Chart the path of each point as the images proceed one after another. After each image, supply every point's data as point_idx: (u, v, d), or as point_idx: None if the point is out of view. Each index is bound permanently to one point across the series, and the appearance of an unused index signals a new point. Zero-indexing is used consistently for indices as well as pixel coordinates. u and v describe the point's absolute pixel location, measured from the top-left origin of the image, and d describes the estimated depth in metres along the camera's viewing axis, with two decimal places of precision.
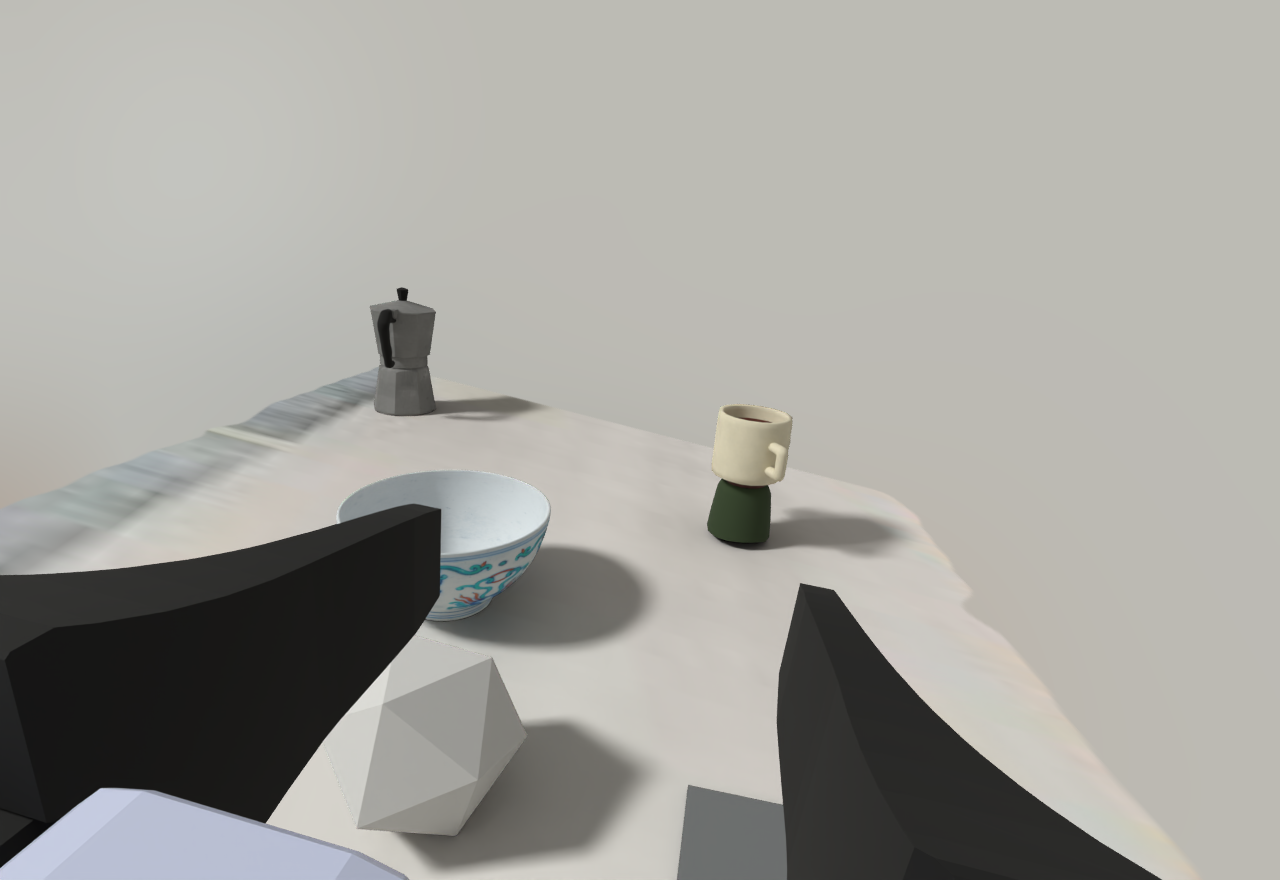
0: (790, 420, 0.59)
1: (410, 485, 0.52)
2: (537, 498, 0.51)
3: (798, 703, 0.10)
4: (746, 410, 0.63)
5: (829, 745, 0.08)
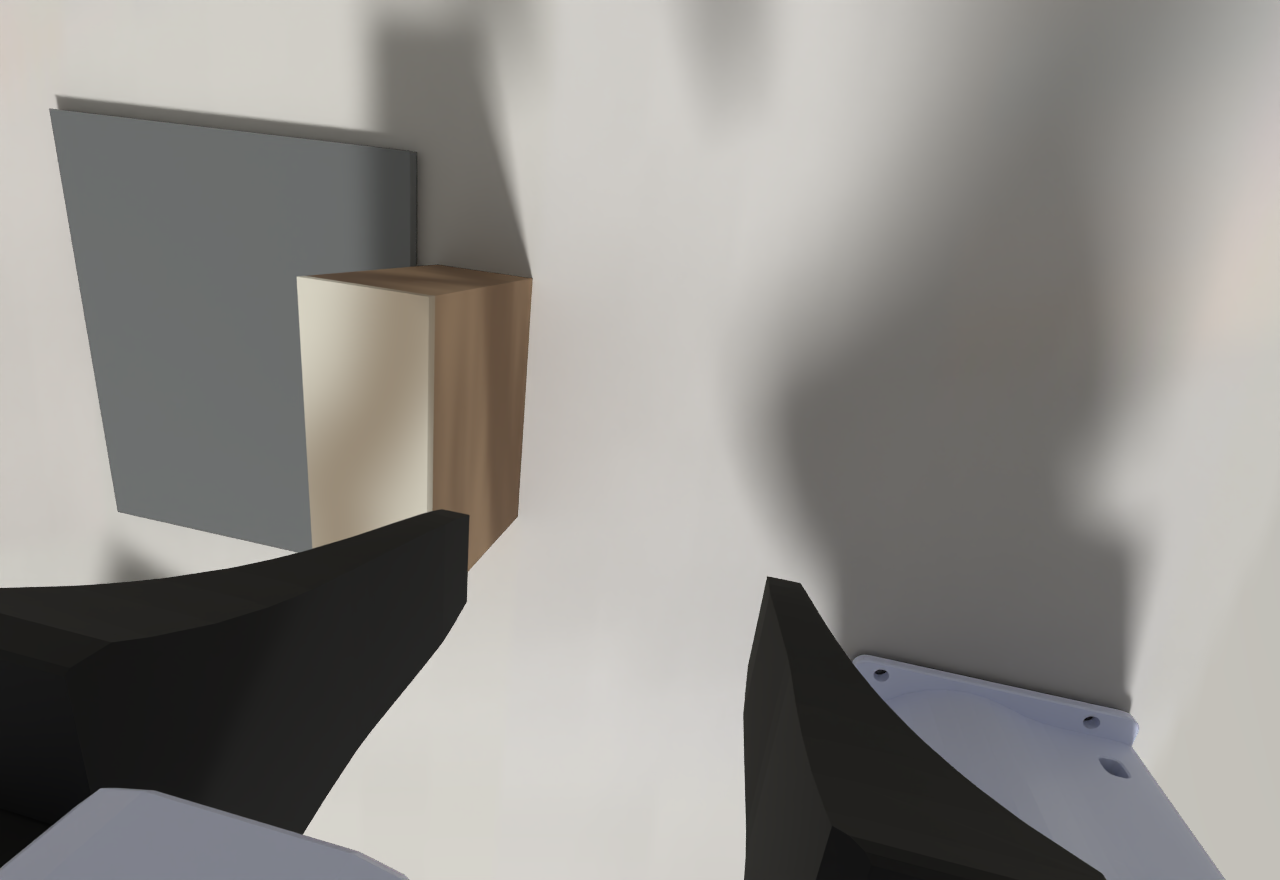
0: None
1: None
2: None
3: (760, 694, 0.10)
4: None
5: (781, 733, 0.08)
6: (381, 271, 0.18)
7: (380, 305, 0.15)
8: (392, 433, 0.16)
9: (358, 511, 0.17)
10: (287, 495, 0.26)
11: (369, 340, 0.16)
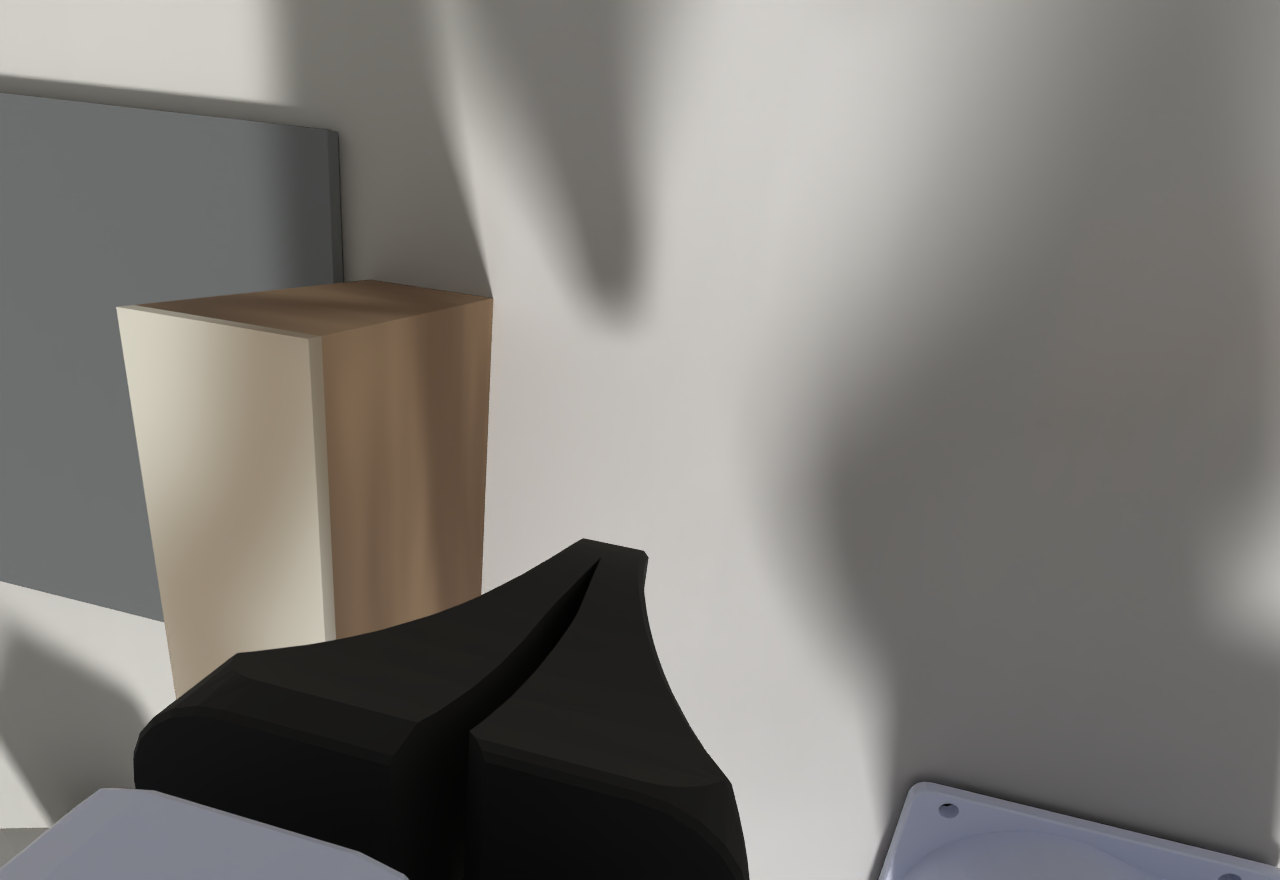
0: None
1: None
2: None
3: None
4: None
5: None
6: (274, 293, 0.13)
7: (239, 350, 0.10)
8: (269, 534, 0.11)
9: (231, 638, 0.12)
10: None
11: (227, 401, 0.10)
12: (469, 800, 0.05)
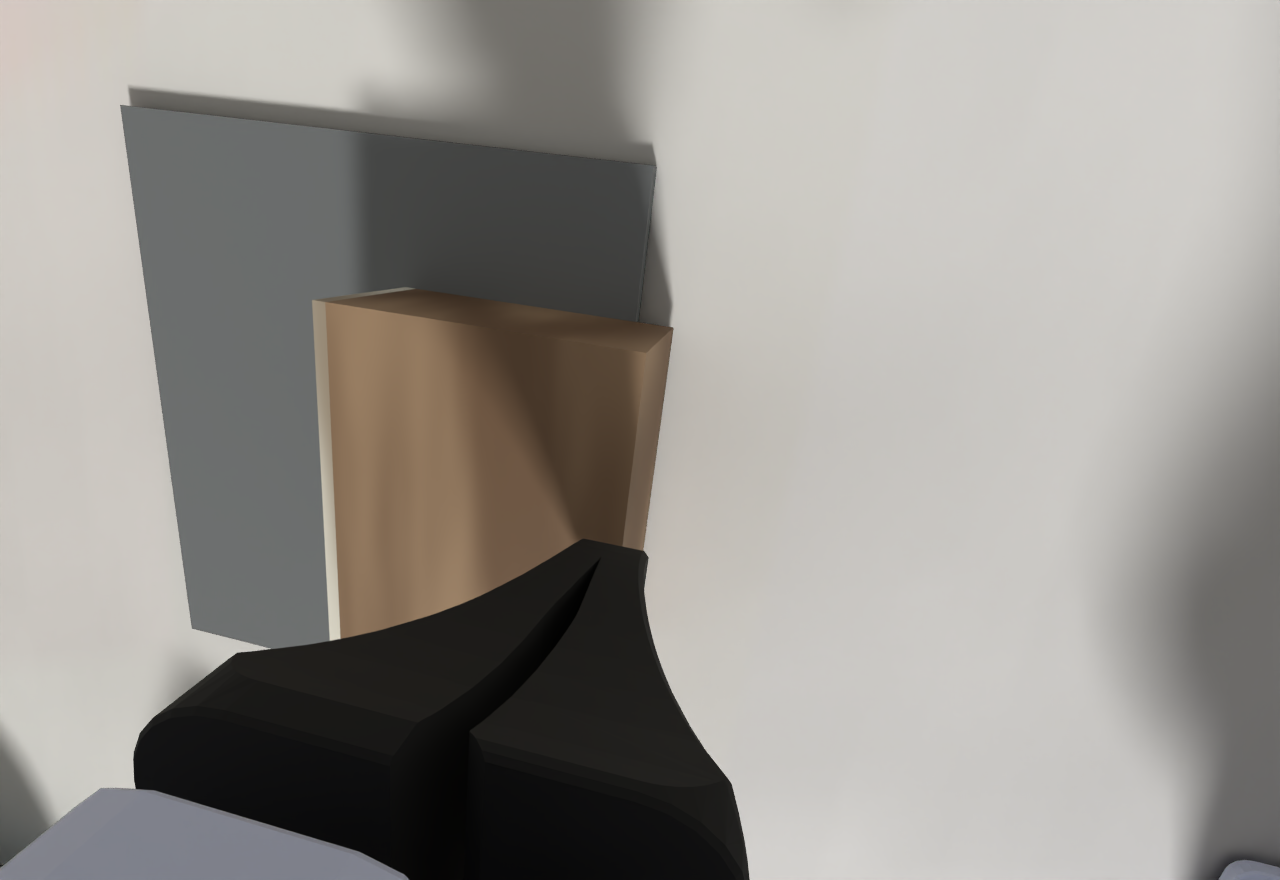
0: None
1: None
2: None
3: None
4: None
5: None
6: (517, 306, 0.15)
7: None
8: None
9: None
10: None
11: None
12: (470, 802, 0.05)
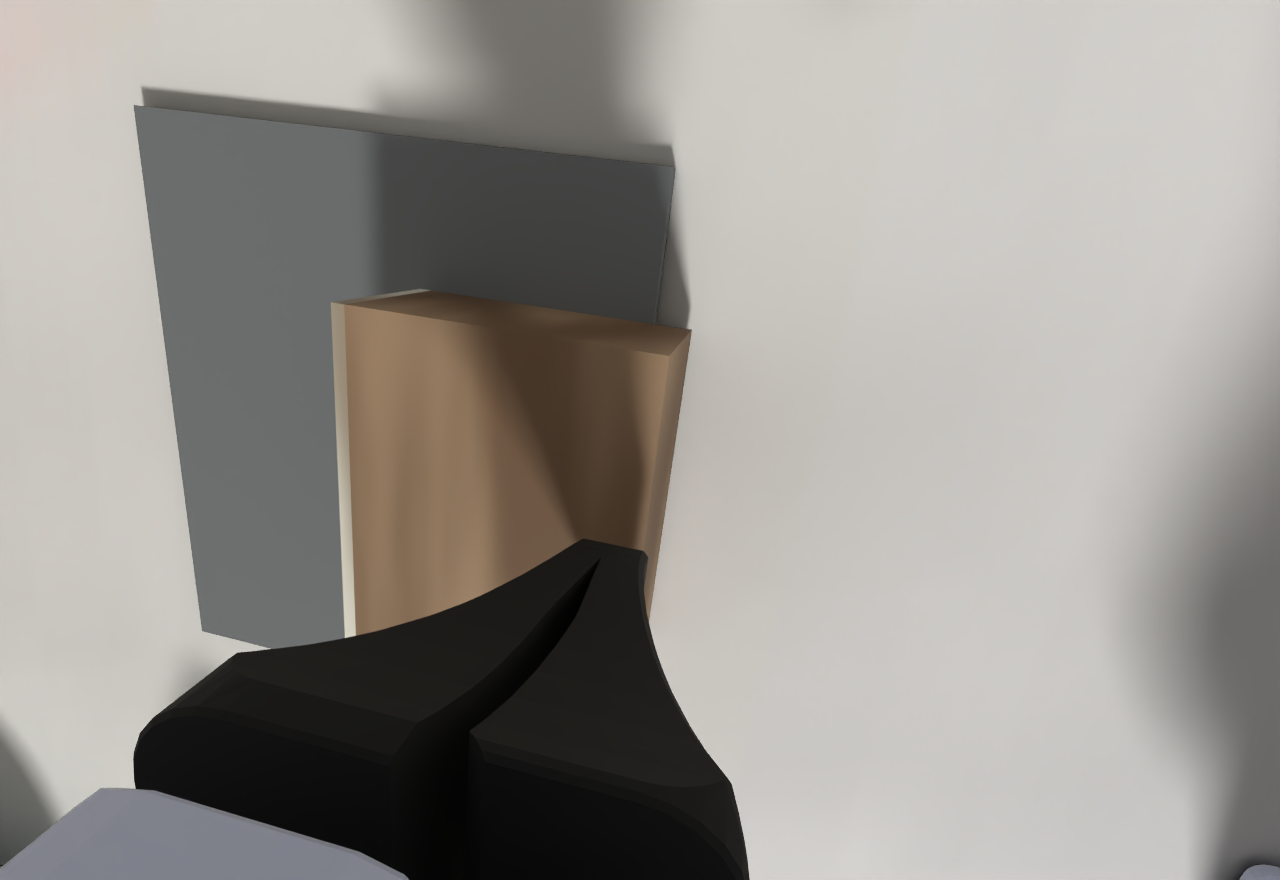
0: None
1: None
2: None
3: None
4: None
5: None
6: (534, 307, 0.15)
7: None
8: None
9: None
10: None
11: None
12: (470, 800, 0.05)
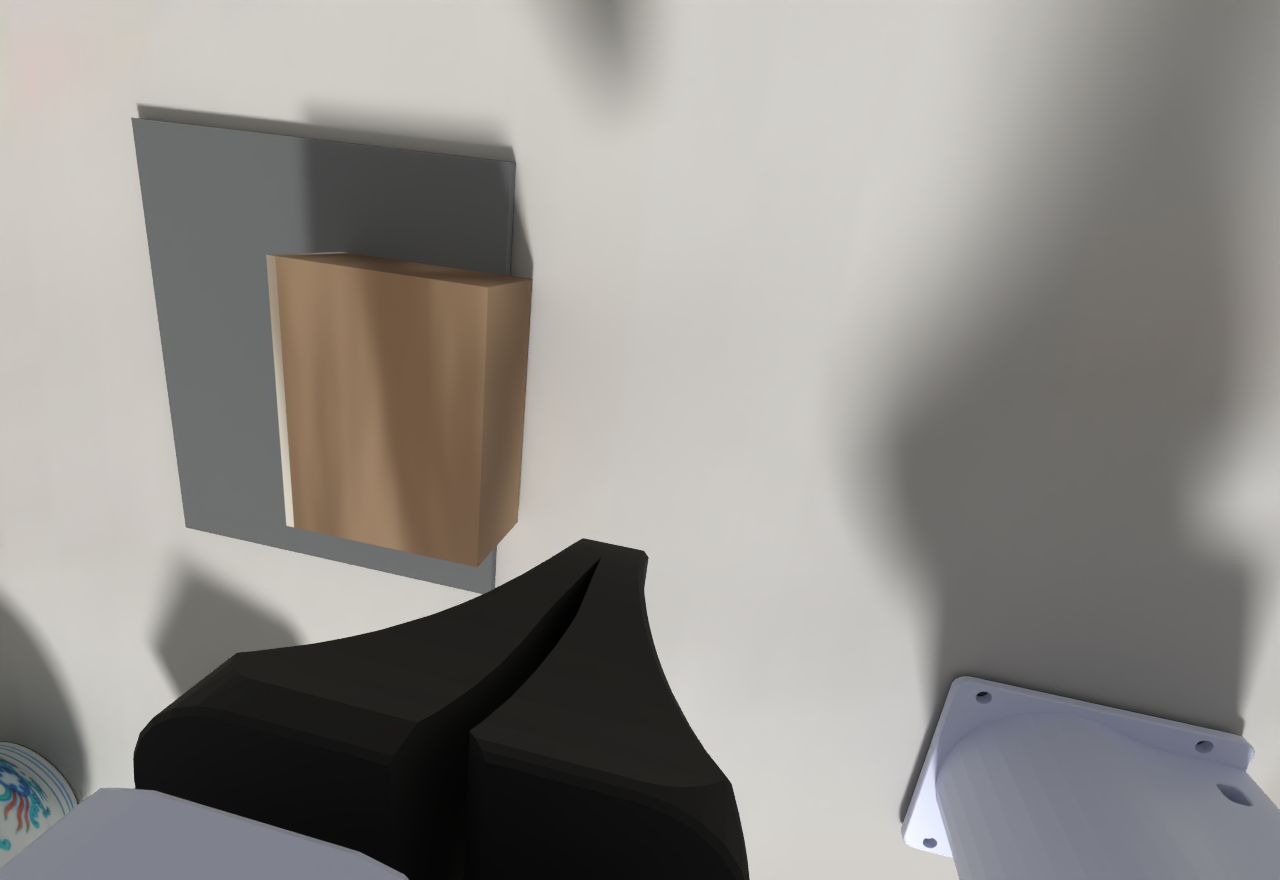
0: None
1: None
2: None
3: None
4: None
5: None
6: (420, 264, 0.21)
7: None
8: None
9: None
10: None
11: None
12: (470, 800, 0.05)
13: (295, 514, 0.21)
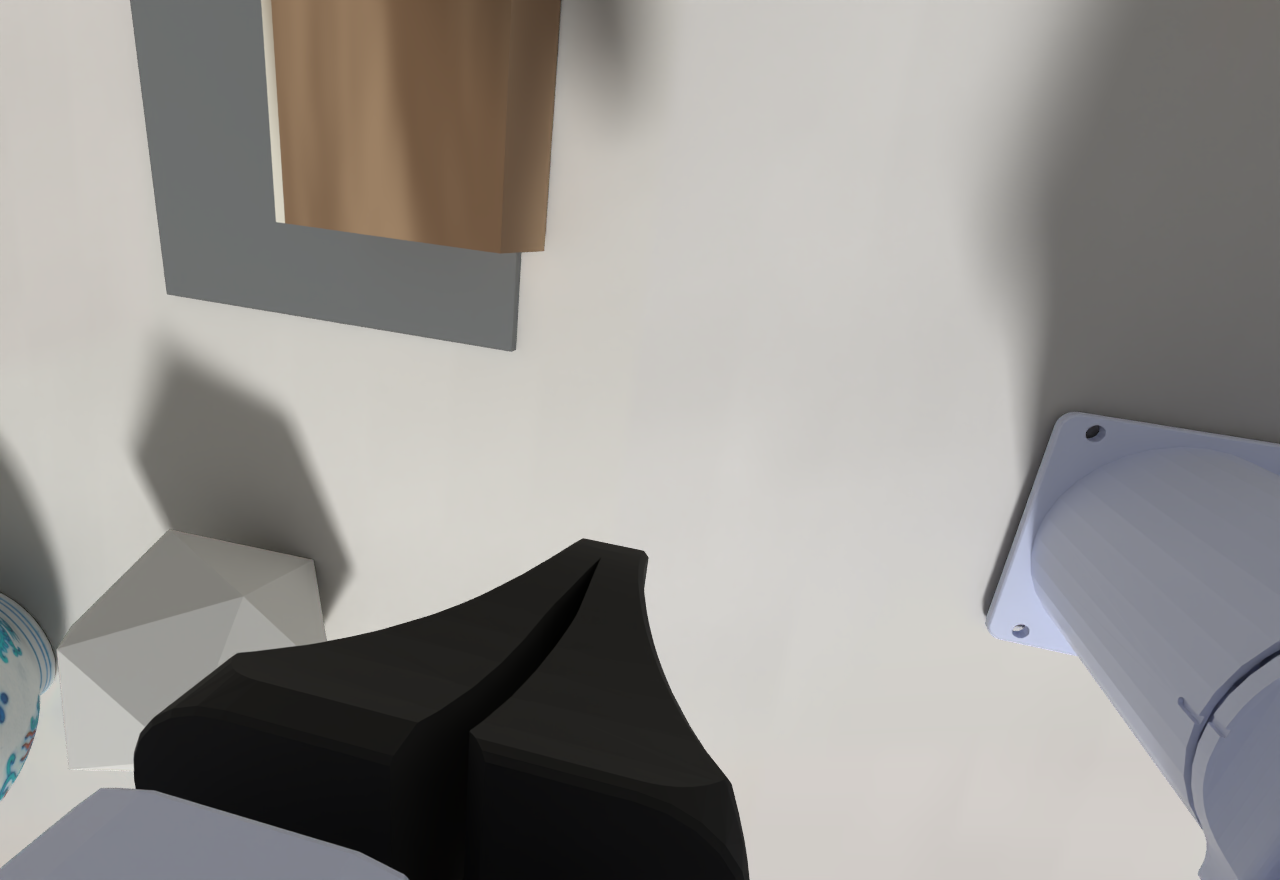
0: None
1: None
2: None
3: None
4: None
5: None
6: None
7: None
8: None
9: None
10: (368, 254, 0.22)
11: None
12: (470, 800, 0.05)
13: (286, 204, 0.18)
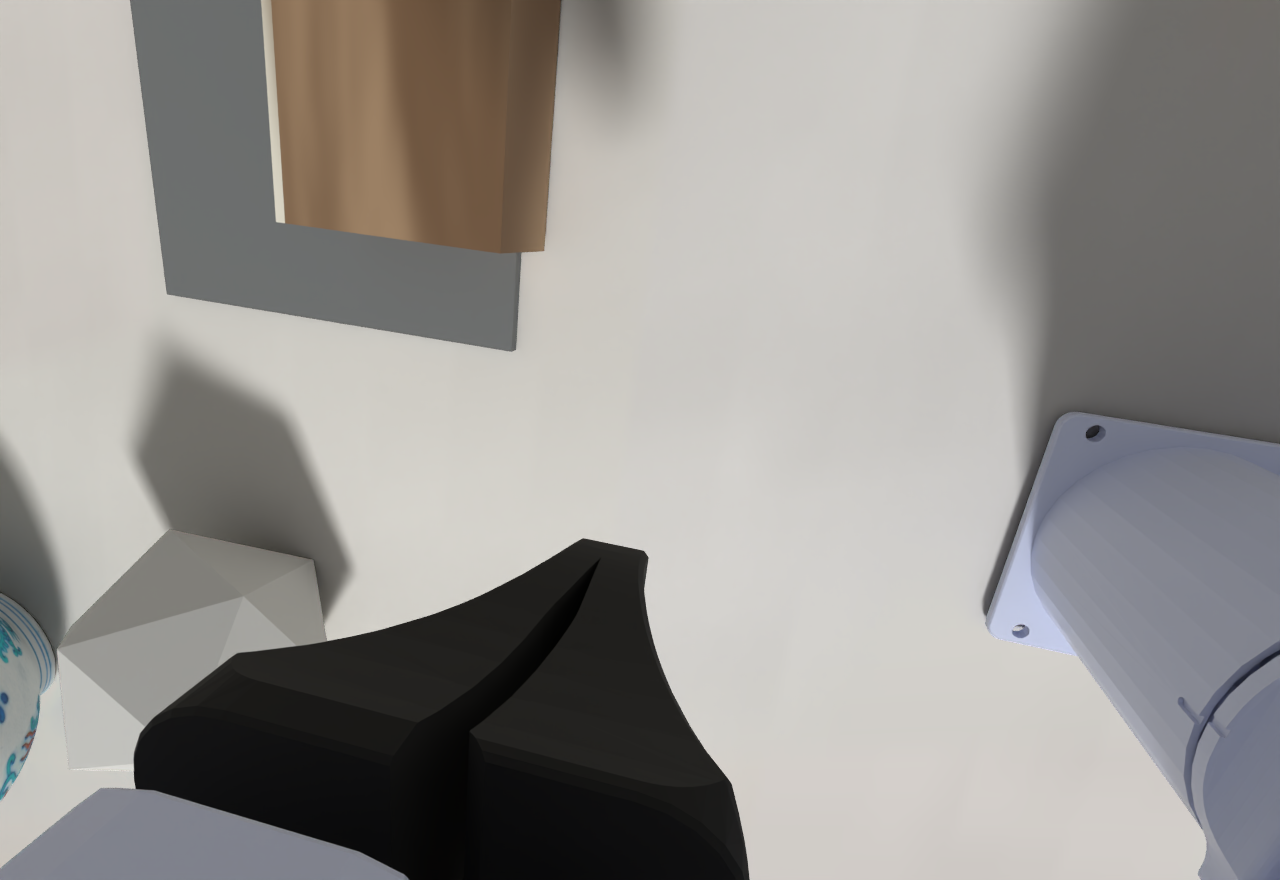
0: None
1: None
2: None
3: None
4: None
5: None
6: None
7: None
8: None
9: None
10: (368, 254, 0.22)
11: None
12: (470, 800, 0.05)
13: (286, 204, 0.18)
